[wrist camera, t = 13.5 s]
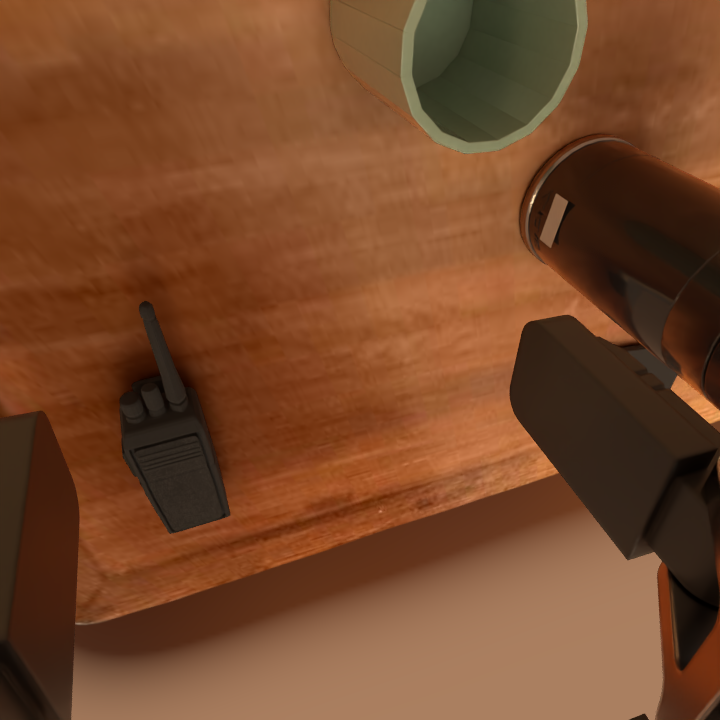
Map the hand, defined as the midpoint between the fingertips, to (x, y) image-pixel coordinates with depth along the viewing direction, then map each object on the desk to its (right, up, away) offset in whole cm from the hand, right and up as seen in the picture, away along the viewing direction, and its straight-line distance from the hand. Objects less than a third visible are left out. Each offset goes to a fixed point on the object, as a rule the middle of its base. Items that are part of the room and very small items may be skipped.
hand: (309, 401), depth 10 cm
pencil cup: (+3, +19, +21) cm, 29 cm away
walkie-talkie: (-13, -2, +31) cm, 34 cm away
